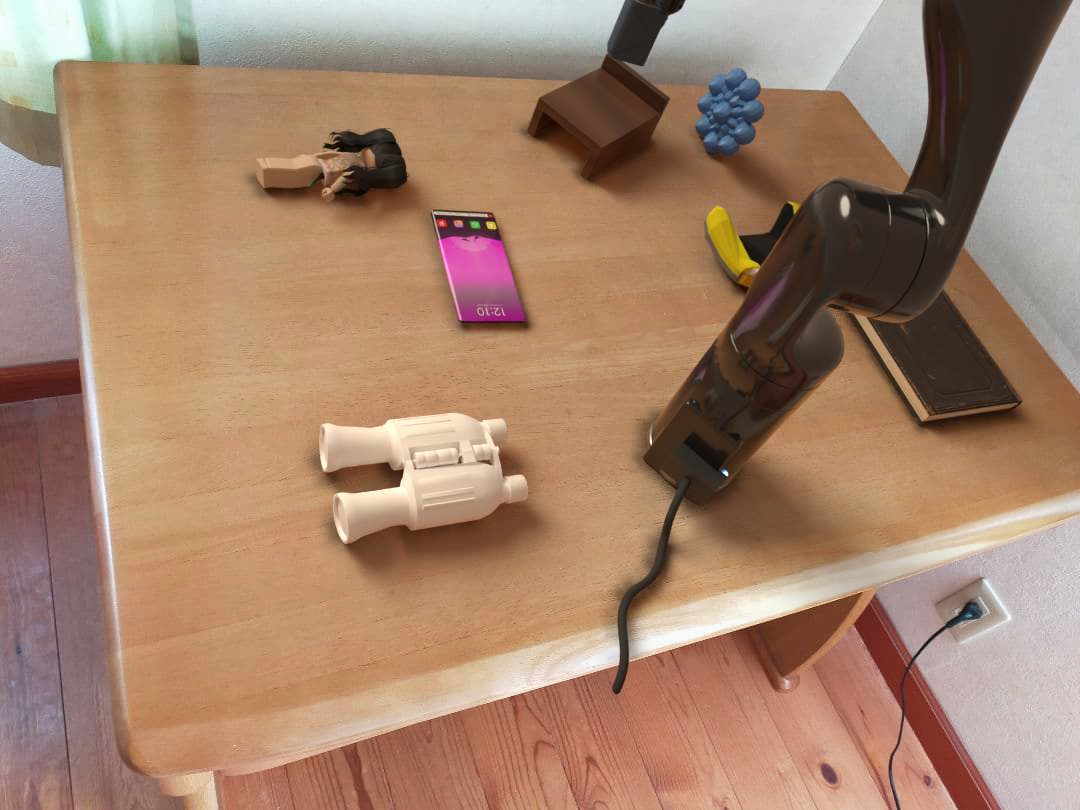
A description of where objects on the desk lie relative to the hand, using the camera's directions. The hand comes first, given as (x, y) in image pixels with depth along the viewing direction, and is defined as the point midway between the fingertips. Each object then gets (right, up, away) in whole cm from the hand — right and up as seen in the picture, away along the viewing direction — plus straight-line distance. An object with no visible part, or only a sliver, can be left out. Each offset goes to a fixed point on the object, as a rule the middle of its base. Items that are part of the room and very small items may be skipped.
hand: (650, 0), depth 97 cm
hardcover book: (+34, -37, +12) cm, 52 cm away
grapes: (+11, -10, +22) cm, 27 cm away
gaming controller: (+14, -27, +11) cm, 32 cm away
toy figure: (-34, -22, -4) cm, 40 cm away
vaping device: (-2, -4, +6) cm, 7 cm away
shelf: (-6, -11, +15) cm, 19 cm away
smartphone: (-19, -30, -5) cm, 36 cm away
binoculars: (-22, -51, -22) cm, 60 cm away
